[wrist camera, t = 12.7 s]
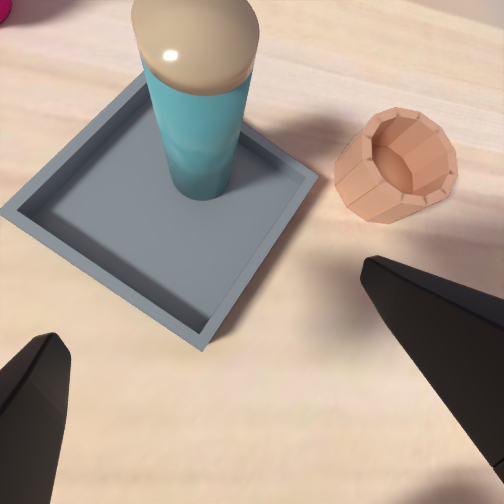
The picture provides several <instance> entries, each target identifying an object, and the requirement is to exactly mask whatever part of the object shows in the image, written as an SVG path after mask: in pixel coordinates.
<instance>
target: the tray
mask: <svg viewBox="0 0 504 504" xmlns="http://www.w3.org/2000/svg"><path fill="white" fill-rule="evenodd" d="M318 177H319V176H318V175H317V174H315V173H314V172H313V171H311V170H310V169H308V168H307V167H305V166H304V165H303V164H301V163H300V162H298V161H297V160H296V159H294V158H293V157H291V156H290V155H289V154H287V153H286V152H284V151H283V150H282V149H280V148H279V147H277V146H276V145H275V144H273V143H272V142H270V141H269V140H268V139H266V138H265V137H263V136H262V135H260V134H259V133H258V132H256V131H255V130H253V129H252V128H251V127H249V126H248V125H246V124H245V123H244V122H242V125H241V130H240V135H239V140H238V145H237V150H236V154H235V159H234V164H233V169H232V174H231V179H230V183H229V185H228V187H227V189H226V190H225V191H224V192H223V193H222V194H221V195H220V196H218V197H217V198H214V199H211V200H207V201H197V200H193V199H190V198H188V197H186V196H184V195H183V194H181V193H180V192H179V191H178V190H177V189H176V187H175V186H174V184H173V182H172V179H171V175H170V171H169V167H168V164H167V160H166V156H165V152H164V148H163V144H162V140H161V136H160V132H159V128H158V124H157V120H156V116H155V112H154V108H153V104H152V100H151V96H150V92H149V88H148V84H147V80H146V76H145V72H144V71H143V72H142V73H141V74H140V75H139V76H138V77H137V78H136V79H135V80H134V81H133V82H132V83H131V84H129V85H128V86H127V87H126V88H125V89H124V90H123V91H122V92H121V93H120V94H119V95H118V96H117V97H116V98H115V99H114V100H113V101H112V102H111V103H110V104H109V105H108V106H107V107H106V108H104V109H103V110H102V111H101V112H100V113H99V114H98V115H97V116H96V117H95V118H94V119H93V120H92V121H91V122H90V123H89V124H88V125H87V126H86V127H85V128H84V129H83V130H82V131H81V132H80V133H78V134H77V135H76V136H75V137H74V138H73V139H72V140H71V141H70V142H69V143H68V144H67V145H66V146H65V147H64V148H63V149H62V150H61V151H60V152H59V153H58V154H57V155H56V156H55V157H54V158H52V159H51V160H50V161H49V162H48V163H47V164H46V165H45V166H44V167H43V168H42V169H41V170H40V171H39V172H38V173H37V174H36V175H35V176H34V177H33V178H32V179H31V180H30V181H29V182H27V183H26V184H25V185H24V186H23V187H22V188H21V189H20V190H19V191H18V192H17V193H16V194H15V195H14V196H13V197H12V198H11V199H10V200H9V201H8V202H7V203H6V204H5V205H4V206H3V207H1V208H0V215H1V216H2V217H4V218H5V219H7V220H8V221H10V222H11V223H13V224H14V225H16V226H17V227H18V228H20V229H21V230H23V231H24V232H26V233H27V234H29V235H30V236H32V237H33V238H35V239H36V240H38V241H39V242H41V243H42V244H44V245H45V246H46V247H48V248H49V249H51V250H52V251H54V252H55V253H57V254H58V255H60V256H61V257H63V258H64V259H66V260H67V261H69V262H70V263H72V264H73V265H74V266H76V267H77V268H79V269H80V270H82V271H83V272H85V273H86V274H88V275H89V276H91V277H92V278H94V279H95V280H97V281H98V282H100V283H101V284H102V285H104V286H105V287H107V288H108V289H110V290H111V291H113V292H114V293H116V294H117V295H119V296H120V297H122V298H123V299H125V300H126V301H128V302H129V303H130V304H132V305H133V306H135V307H136V308H138V309H139V310H141V311H142V312H144V313H145V314H147V315H148V316H150V317H151V318H153V319H154V320H156V321H157V322H158V323H160V324H161V325H163V326H164V327H166V328H167V329H169V330H170V331H172V332H173V333H175V334H176V335H178V336H179V337H181V338H182V339H184V340H185V341H186V342H188V343H189V344H191V345H192V346H194V347H195V348H197V349H198V350H200V351H201V352H203V350H204V349H205V347H206V346H207V344H208V343H209V341H210V340H211V338H212V337H213V335H214V334H215V332H216V331H217V329H218V328H219V326H220V325H221V323H222V322H223V320H224V318H225V317H226V315H227V314H228V312H229V311H230V309H231V308H232V306H233V305H234V303H235V302H236V300H237V299H238V297H239V296H240V294H241V293H242V291H243V290H244V288H245V287H246V285H247V284H248V282H249V281H250V279H251V278H252V276H253V275H254V273H255V272H256V270H257V269H258V267H259V266H260V264H261V263H262V261H263V260H264V258H265V257H266V255H267V254H268V252H269V251H270V249H271V248H272V246H273V245H274V243H275V242H276V240H277V239H278V237H279V236H280V234H281V233H282V231H283V230H284V228H285V227H286V225H287V224H288V222H289V221H290V219H291V218H292V216H293V215H294V213H295V212H296V210H297V209H298V207H299V206H300V204H301V203H302V201H303V200H304V198H305V197H306V195H307V194H308V192H309V191H310V189H311V187H312V186H313V184H314V183H315V181H316V180H317V178H318Z"/></svg>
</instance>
